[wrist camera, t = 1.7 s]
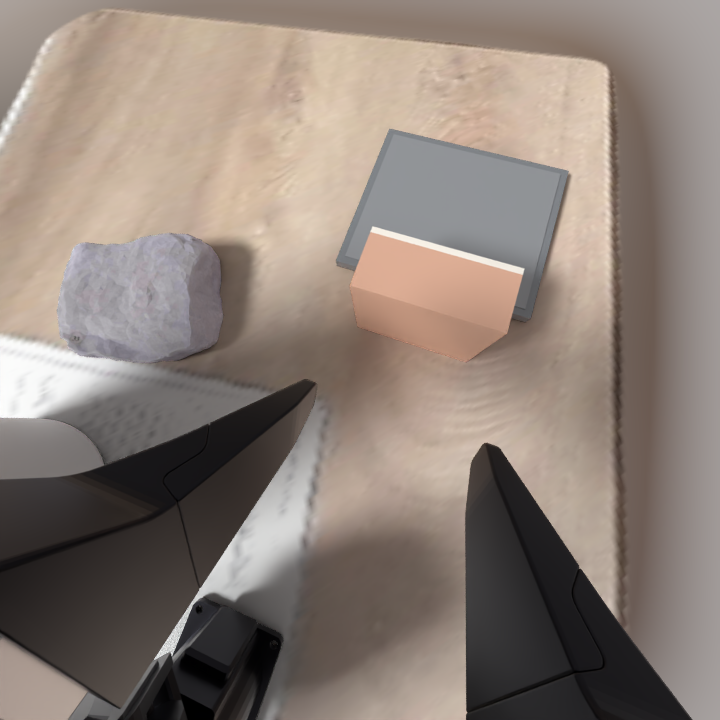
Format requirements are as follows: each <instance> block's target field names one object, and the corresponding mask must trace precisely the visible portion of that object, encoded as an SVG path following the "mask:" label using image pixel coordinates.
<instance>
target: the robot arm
mask: <svg viewBox="0 0 720 720" xmlns="http://www.w3.org/2000/svg"><path fill="white" fill-rule="evenodd" d="M316 390H317V383H316V382H313V381H311V380H308V379H304V380H302V381H299V382H297V383H295V384H293V385H291V386H289V387H286V388H284V389H282V390H280V391H278V392H276V393H274V394H271V395H269V396H267V397H265V398H263V399H261V400H258V401H256V402H254V403H252V404H250V405H248V406H246V407H243V408H241V409H239V410H237V411H235V412H233V413H230V414H228V415H226V416H224V417H222V418H220V419H217V420H215V421H213V422H211V423H210V425H209V424H206V425H204V426H202V427H200V428H198V429H196V430H193V431H191V432H189V433H187V434H184V435H182V436H180V437H177V438H175V439H173V440H170V441H167V442H165V443H162V444H160V445H157V446H155V447H152V448H149V449H147V450H144V451H141V452H138V453H136V454H133V455H130V456H128V457H125V458H122V459H119V460H117V461H114V462H111V463H109V464H106V465H103V466H101V467H98V468H95V469H92V470H89V471H85V472H81V473H77V474H72V475H67V476H59V477H42V478H17V479H0V720H256V719H257V716H258V713H259V710H260V708H261V705H262V702H263V699H264V696H265V693H266V690H267V687H268V685H269V682H270V679H271V676H272V673H273V670H274V667H275V664H276V662H277V659H278V656H279V653H280V650H281V647H282V644H283V637H282V635H281V634H280V633H279V632H277V631H274V630H272V629H270V628H268V627H266V626H264V625H262V624H259V623H257V621H256V620H254V619H252V618H250V617H248V616H246V615H244V614H242V613H240V612H237V611H235V610H233V609H231V608H229V607H227V606H221V605H219V604H217V603H215V602H213V601H210V600H208V599H206V598H200V599H199V600H198V601H197V602H196V603H195V604H194V605H193V607H192V609H191V612H190V614H189V617H188V619H187V622H186V624H185V627H184V629H183V632H182V634H181V636H180V639H179V641H178V644H177V646H176V649H175V651H174V654H173V656H171V653H170V652H169V653H167V654H165V655H163V656H161V657H160V658H158V659H156V660H154V658H155V657H156V655H157V654H158V652H159V651H160V649H161V648H162V646H163V644H164V643H165V641H166V640H167V638H168V637H169V635H170V634H171V632H172V631H173V629H174V628H175V626H176V625H177V623H178V622H179V620H180V619H181V617H182V616H183V614H184V613H185V611H186V609H187V608H188V606H189V605H190V603H191V602H192V600H193V599H194V597H195V596H196V594H197V593H198V591H199V588H201V586H202V585H203V583H204V582H205V580H206V579H207V577H208V576H209V574H210V573H211V571H212V570H213V568H214V567H215V565H216V564H217V562H218V561H219V559H220V558H221V556H222V555H223V553H224V551H225V550H226V548H227V547H228V545H229V544H230V542H231V541H232V539H233V538H234V536H235V535H236V533H237V532H238V530H239V529H240V527H241V526H242V524H243V523H244V521H245V520H246V518H247V517H248V515H249V513H250V512H251V510H252V509H253V507H254V506H255V504H256V503H257V501H258V500H259V498H260V497H261V495H262V494H263V492H264V491H265V489H266V488H267V486H268V485H269V483H270V482H271V480H272V479H273V477H274V475H275V474H276V472H277V471H278V469H279V468H280V466H281V465H282V463H283V462H284V460H285V459H286V457H287V456H288V454H289V453H290V451H291V449H292V448H293V446H294V444H295V442H296V440H297V438H298V436H299V434H300V432H301V430H302V428H303V426H304V424H305V422H306V420H307V418H308V416H309V414H310V412H311V410H312V408H313V406H314V402H315V397H316ZM465 557H466V710H467V712H468V713H467V714H466V720H692V719H691V717H690V716H689V715H688V713H687V712H686V711H685V709H684V708H683V707H682V705H681V704H680V703H679V702H678V700H677V699H676V698H675V696H674V695H673V694H672V692H671V691H670V690H669V688H668V687H667V686H666V684H665V683H664V682H663V681H662V679H661V678H660V677H659V675H658V674H657V673H656V672H655V670H654V669H653V667H652V666H651V665H650V664H649V662H648V661H647V659H646V658H645V657H644V656H643V654H642V653H641V652H640V650H639V649H638V648H637V646H636V645H635V644H634V642H633V641H632V640H631V638H630V637H629V636H628V634H627V633H626V632H625V630H624V629H623V627H622V626H621V625H620V623H619V622H618V621H617V619H616V618H615V617H614V615H613V614H612V613H611V611H610V610H609V608H608V607H607V605H606V604H605V603H604V601H603V600H602V598H601V597H600V595H599V594H598V593H597V591H596V590H595V588H594V587H593V585H592V584H591V582H590V581H589V579H588V578H587V577H586V575H585V574H584V572H583V571H582V569H579V565H578V563H577V562H576V560H575V559H574V557H573V556H572V554H571V553H570V552H569V550H568V549H567V547H566V546H565V544H564V543H563V541H562V540H561V538H560V537H559V535H558V534H557V532H556V531H555V529H554V528H553V526H552V525H551V523H550V522H549V520H548V519H547V517H546V516H545V514H544V513H543V512H542V510H541V509H540V507H539V506H538V504H537V503H536V501H535V500H534V498H533V497H532V495H531V494H530V492H529V491H528V489H527V488H526V486H525V485H524V483H523V482H522V480H521V479H520V477H519V476H518V474H517V473H516V472H515V470H514V469H513V467H512V466H511V464H510V463H509V461H508V460H507V458H506V457H505V455H504V454H503V452H502V451H501V449H500V448H499V447H497V446H495V445H492V444H489V443H484V444H483V445H482V446H481V448H480V449H479V451H478V452H477V454H476V455H475V457H474V458H473V460H472V463H471V467H470V476H469V485H468V494H467V503H466V513H465ZM199 605H201V606H202V607H203V610H200V609H199ZM273 640H274V641H276V642H277V644H278V645H274V644H273V643H272V641H273ZM153 660H154V661H153Z"/></svg>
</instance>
